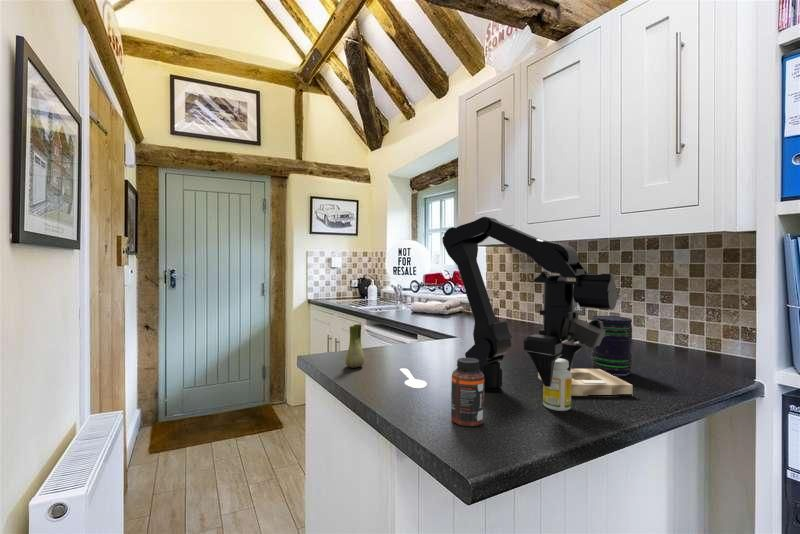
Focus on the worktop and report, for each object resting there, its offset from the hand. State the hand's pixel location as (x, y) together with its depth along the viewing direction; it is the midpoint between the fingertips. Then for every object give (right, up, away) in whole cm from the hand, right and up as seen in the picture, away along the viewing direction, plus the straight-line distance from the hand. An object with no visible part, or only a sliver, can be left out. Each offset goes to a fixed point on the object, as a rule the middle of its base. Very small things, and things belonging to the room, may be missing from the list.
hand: (556, 381), depth 81 cm
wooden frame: (+12, -5, +14) cm, 19 cm away
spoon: (-29, -5, +19) cm, 36 cm away
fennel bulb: (-45, -5, +29) cm, 53 cm away
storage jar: (+26, -6, +28) cm, 39 cm away
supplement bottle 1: (-20, -5, -9) cm, 22 cm away
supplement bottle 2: (0, -5, 0) cm, 5 cm away
